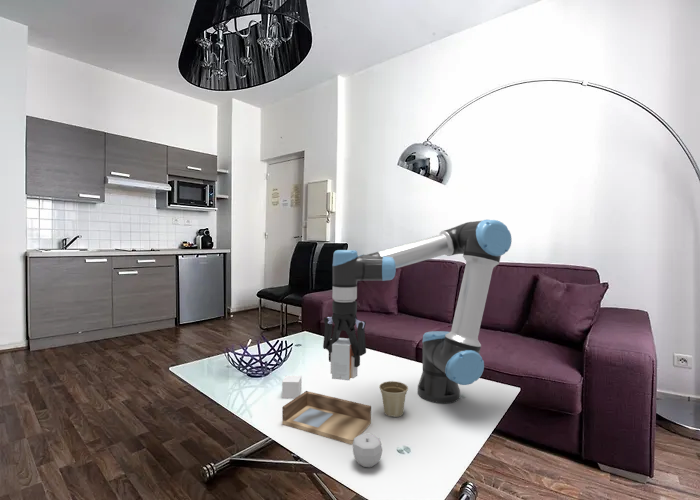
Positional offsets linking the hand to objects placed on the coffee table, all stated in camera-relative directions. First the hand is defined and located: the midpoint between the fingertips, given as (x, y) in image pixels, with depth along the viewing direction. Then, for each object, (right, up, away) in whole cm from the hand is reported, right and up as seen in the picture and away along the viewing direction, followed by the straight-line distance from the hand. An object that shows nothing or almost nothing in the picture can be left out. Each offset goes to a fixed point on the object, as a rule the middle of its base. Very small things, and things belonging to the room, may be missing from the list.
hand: (343, 374), depth 107 cm
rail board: (-5, -15, 0) cm, 16 cm away
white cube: (-19, -15, +21) cm, 32 cm away
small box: (0, 0, 0) cm, 0 cm away
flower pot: (+16, -15, +7) cm, 24 cm away
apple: (+6, -16, -19) cm, 26 cm away
